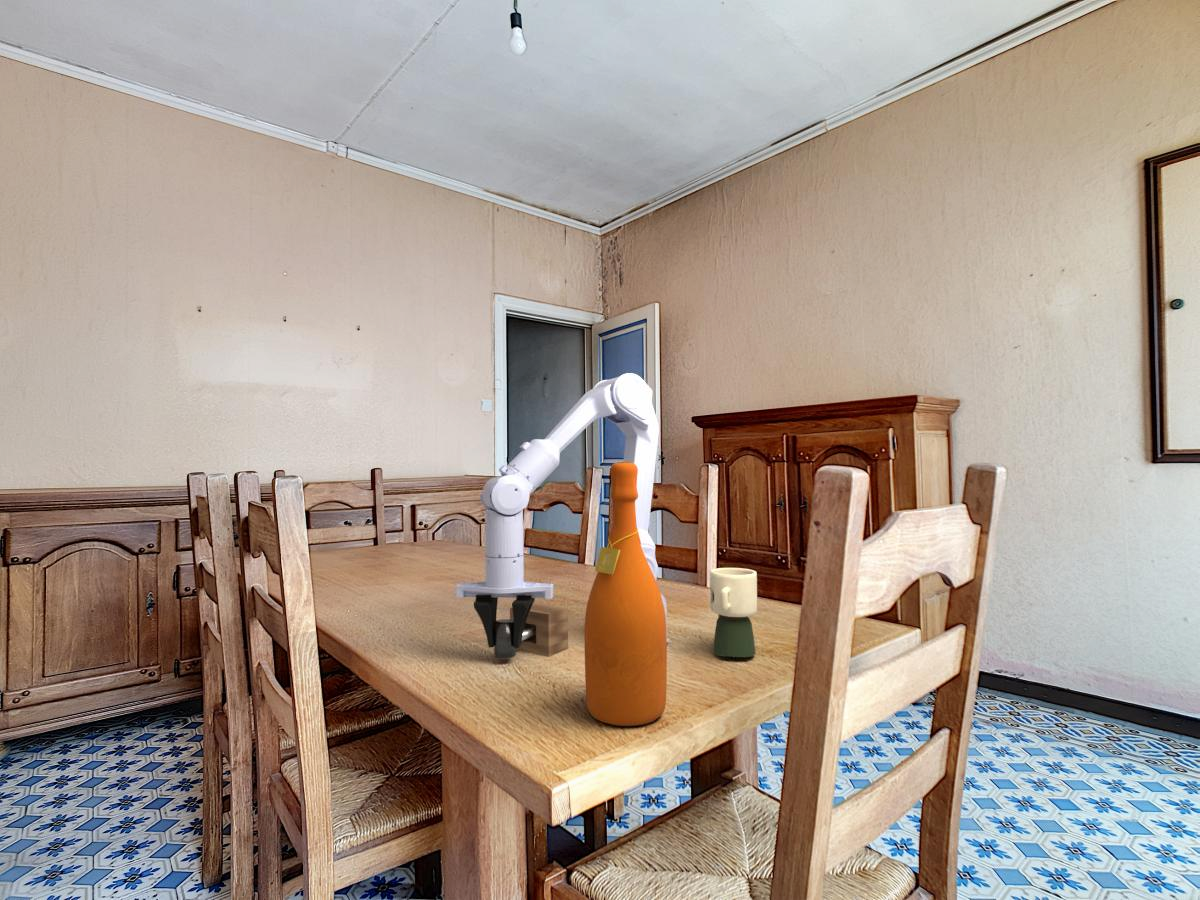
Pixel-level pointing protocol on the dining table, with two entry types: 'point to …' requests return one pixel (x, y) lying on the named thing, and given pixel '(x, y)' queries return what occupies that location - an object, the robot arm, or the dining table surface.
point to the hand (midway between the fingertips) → (505, 645)
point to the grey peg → (507, 638)
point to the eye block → (546, 629)
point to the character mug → (733, 610)
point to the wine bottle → (625, 621)
